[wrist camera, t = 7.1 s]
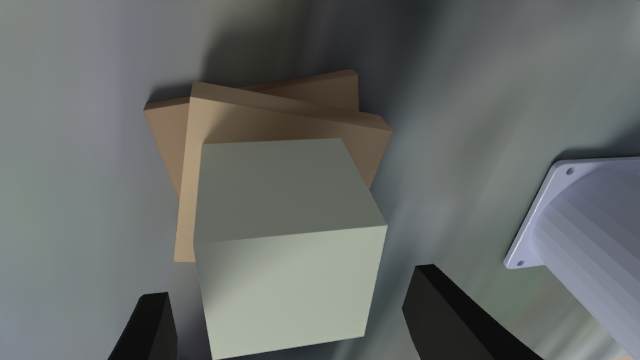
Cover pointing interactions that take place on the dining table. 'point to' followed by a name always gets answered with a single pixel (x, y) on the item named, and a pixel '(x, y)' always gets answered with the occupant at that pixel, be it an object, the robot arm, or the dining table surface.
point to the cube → (284, 245)
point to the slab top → (267, 137)
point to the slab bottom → (321, 89)
